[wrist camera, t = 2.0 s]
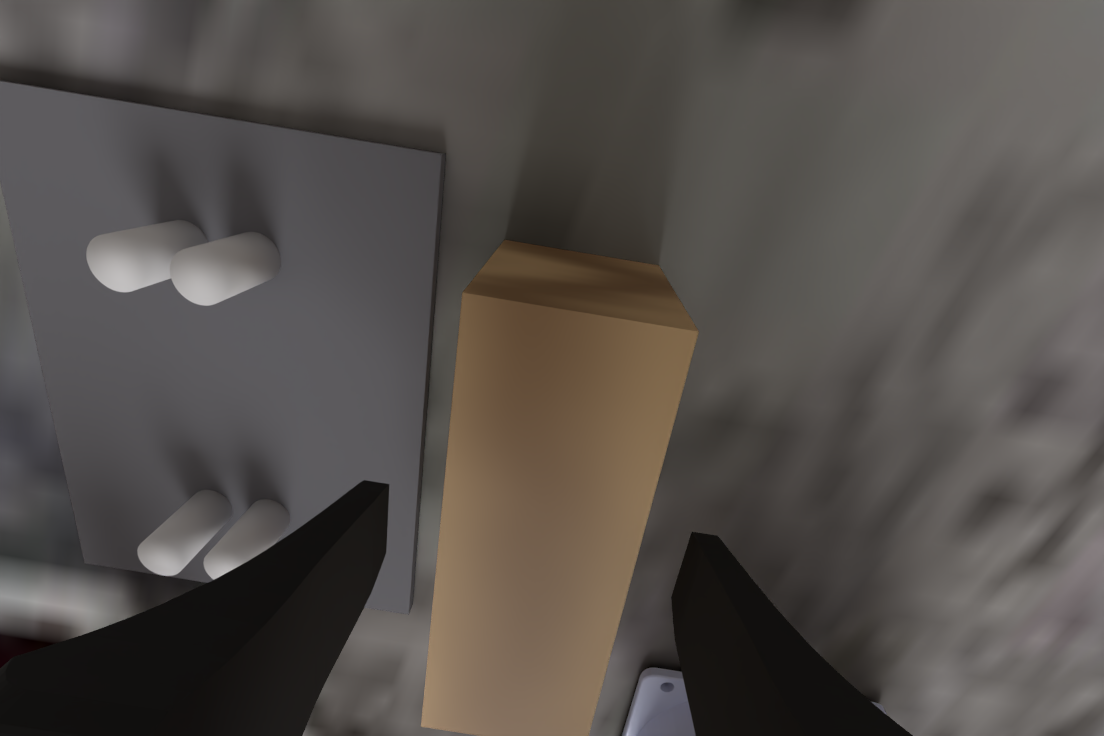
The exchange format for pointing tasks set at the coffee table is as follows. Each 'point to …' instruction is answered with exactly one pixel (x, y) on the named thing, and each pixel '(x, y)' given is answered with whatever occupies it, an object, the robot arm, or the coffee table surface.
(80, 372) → the peg base
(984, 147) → the coffee table surface
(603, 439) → the oak block
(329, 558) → the robot arm
